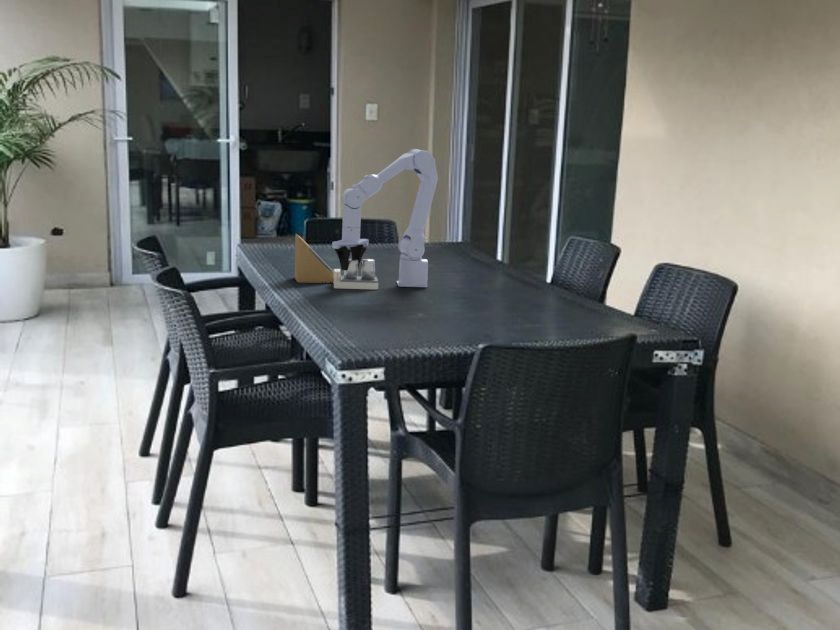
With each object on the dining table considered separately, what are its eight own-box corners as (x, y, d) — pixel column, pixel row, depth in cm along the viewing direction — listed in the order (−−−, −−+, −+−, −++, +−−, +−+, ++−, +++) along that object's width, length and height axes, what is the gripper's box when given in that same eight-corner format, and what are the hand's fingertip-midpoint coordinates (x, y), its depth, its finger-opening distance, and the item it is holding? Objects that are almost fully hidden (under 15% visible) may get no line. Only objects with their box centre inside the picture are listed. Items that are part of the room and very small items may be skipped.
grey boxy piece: (376, 284, 287) (376, 269, 286) (378, 289, 279) (378, 274, 277) (332, 282, 285) (332, 267, 284) (333, 288, 277) (333, 272, 276)
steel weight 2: (365, 276, 284) (365, 258, 283) (377, 277, 282) (377, 259, 281) (358, 279, 281) (358, 260, 279) (370, 280, 279) (370, 261, 277)
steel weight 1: (352, 276, 284) (352, 258, 283) (360, 278, 281) (360, 260, 279) (341, 277, 281) (341, 259, 280) (349, 280, 278) (349, 261, 277)
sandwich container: (344, 283, 287) (346, 237, 284) (297, 283, 283) (298, 237, 280) (339, 278, 295) (341, 234, 292) (294, 278, 291) (295, 233, 288)
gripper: (344, 229, 270) (342, 273, 273) (376, 227, 281) (374, 268, 284) (328, 227, 274) (326, 269, 277) (360, 224, 285) (358, 265, 288)
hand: (349, 269), depth 281 cm, fingers open, 4 cm apart
